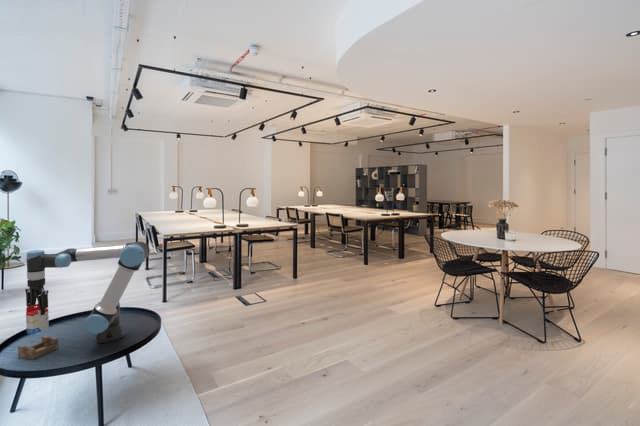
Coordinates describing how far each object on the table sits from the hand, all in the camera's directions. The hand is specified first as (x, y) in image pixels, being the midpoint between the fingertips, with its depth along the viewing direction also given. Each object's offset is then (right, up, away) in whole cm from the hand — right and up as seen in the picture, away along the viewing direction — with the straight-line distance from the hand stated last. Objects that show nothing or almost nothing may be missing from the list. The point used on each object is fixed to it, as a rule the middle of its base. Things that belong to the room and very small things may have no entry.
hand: (37, 319), depth 186 cm
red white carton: (0, -7, 0) cm, 7 cm away
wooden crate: (-1, -19, +1) cm, 19 cm away
